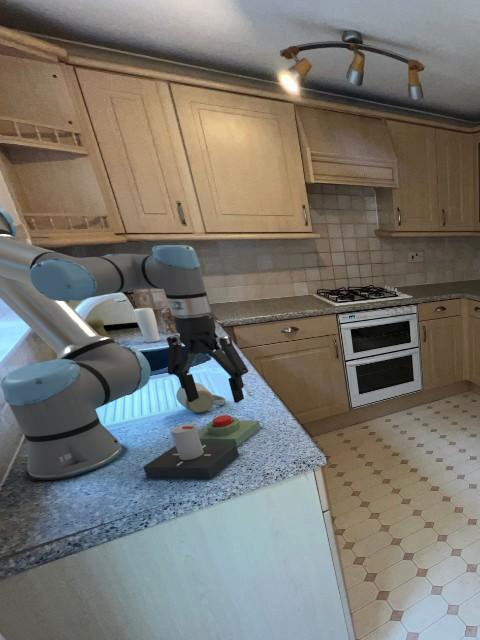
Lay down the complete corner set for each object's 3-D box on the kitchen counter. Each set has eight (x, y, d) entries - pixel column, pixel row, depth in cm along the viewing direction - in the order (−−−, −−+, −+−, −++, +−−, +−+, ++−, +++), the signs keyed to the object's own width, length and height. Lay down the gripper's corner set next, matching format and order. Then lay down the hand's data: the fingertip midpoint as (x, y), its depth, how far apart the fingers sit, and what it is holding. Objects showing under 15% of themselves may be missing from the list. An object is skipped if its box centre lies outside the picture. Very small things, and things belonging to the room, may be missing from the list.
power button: (210, 427, 103) (208, 421, 103) (221, 420, 107) (219, 414, 106) (226, 428, 103) (224, 422, 103) (236, 421, 107) (234, 415, 106)
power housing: (190, 445, 102) (185, 431, 100) (217, 427, 111) (213, 414, 110) (237, 446, 102) (233, 432, 100) (260, 427, 111) (257, 414, 110)
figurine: (160, 333, 200) (153, 308, 195) (175, 329, 206) (168, 306, 202) (170, 334, 198) (163, 310, 193) (185, 331, 204) (178, 307, 200)
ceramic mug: (189, 417, 116) (182, 393, 113) (179, 409, 120) (172, 386, 118) (230, 406, 124) (225, 382, 121) (220, 399, 128) (214, 376, 126)
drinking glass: (162, 338, 190) (152, 307, 185) (162, 341, 186) (152, 309, 180) (143, 341, 186) (132, 308, 181) (143, 344, 182) (132, 311, 176)
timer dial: (174, 460, 90) (164, 431, 88) (189, 449, 94) (180, 422, 92) (194, 460, 90) (185, 431, 88) (208, 450, 94) (199, 422, 92)
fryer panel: (147, 478, 89) (142, 466, 88) (181, 454, 98) (178, 443, 97) (210, 479, 89) (206, 467, 88) (239, 455, 98) (236, 444, 97)
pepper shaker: (114, 343, 181) (105, 319, 177) (96, 346, 177) (86, 321, 173) (109, 341, 184) (100, 317, 180) (91, 344, 180) (82, 320, 176)
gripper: (128, 317, 91) (158, 405, 99) (231, 319, 91) (253, 407, 99) (156, 310, 98) (182, 393, 106) (252, 312, 98) (270, 395, 106)
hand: (216, 400), depth 102 cm, fingers open, 11 cm apart
